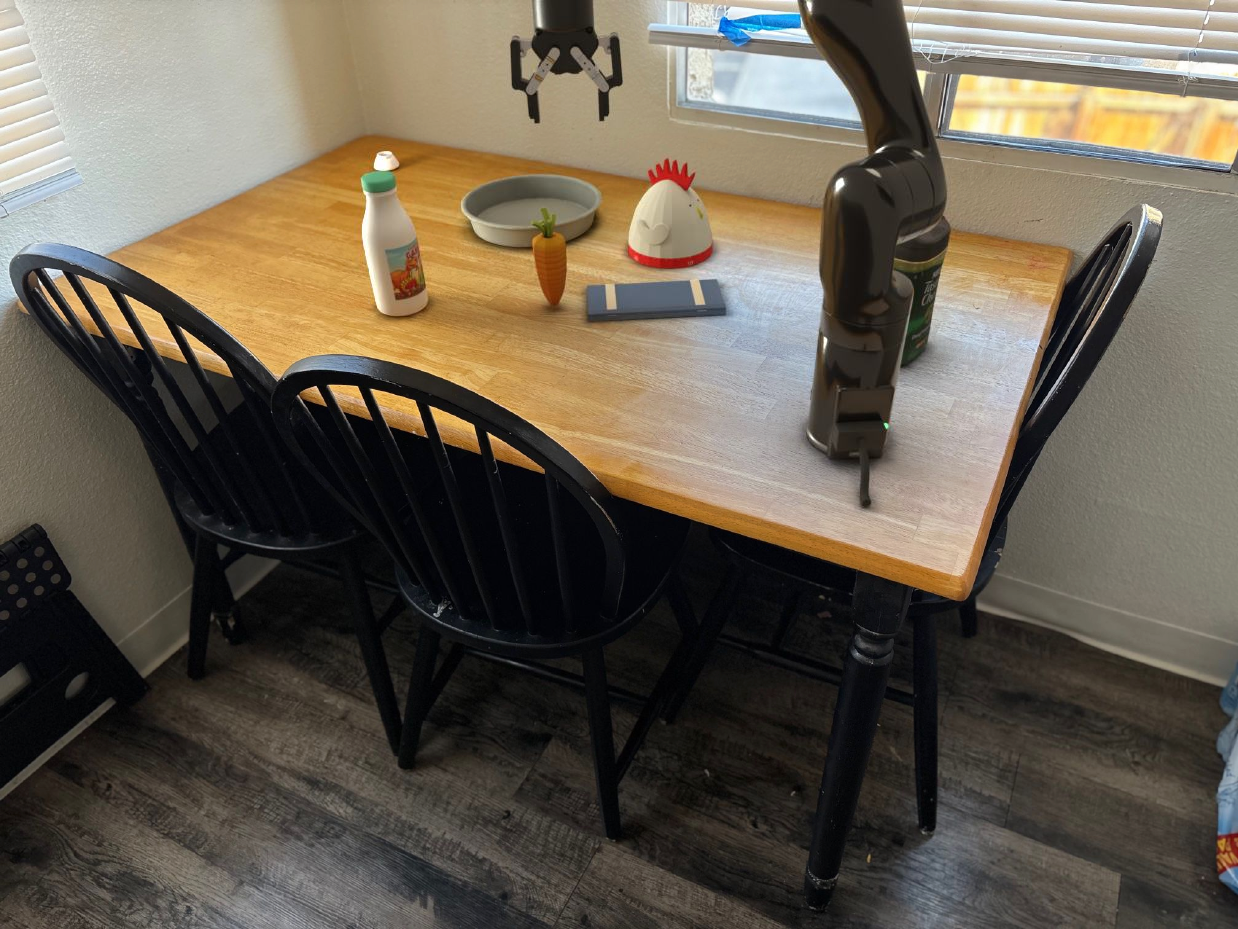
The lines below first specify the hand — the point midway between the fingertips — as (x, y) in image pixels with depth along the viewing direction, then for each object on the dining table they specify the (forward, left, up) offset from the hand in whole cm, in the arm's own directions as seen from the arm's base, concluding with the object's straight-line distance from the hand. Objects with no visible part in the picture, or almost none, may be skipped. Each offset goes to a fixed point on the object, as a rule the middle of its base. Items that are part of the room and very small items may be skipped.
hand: (569, 120), depth 119 cm
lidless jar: (+63, +39, -27) cm, 79 cm away
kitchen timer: (+17, -15, -27) cm, 35 cm away
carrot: (-1, +4, -27) cm, 27 cm away
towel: (-1, -11, -27) cm, 29 cm away
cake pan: (+31, +8, -27) cm, 41 cm away
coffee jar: (-18, -42, -27) cm, 53 cm away
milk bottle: (+2, +27, -27) cm, 38 cm away
